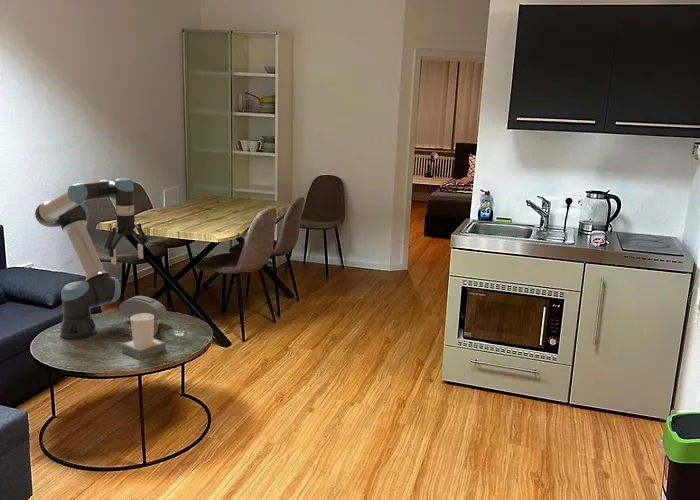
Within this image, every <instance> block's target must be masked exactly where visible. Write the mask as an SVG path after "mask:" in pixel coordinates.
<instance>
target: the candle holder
mask: <svg viewBox="0 0 700 500" xmlns="http://www.w3.org/2000/svg"><path fill="white" fill-rule="evenodd" d="M129 322H130V327H131V336H132V340H133V344H134V345H135V346H138V347H145V346H149V345H151V344H153V340H154V338H155V337H154V336H155V335H154V315H152V314H149V313H140V314H135V315H133V316H131V317H130V321H129Z"/></svg>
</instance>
